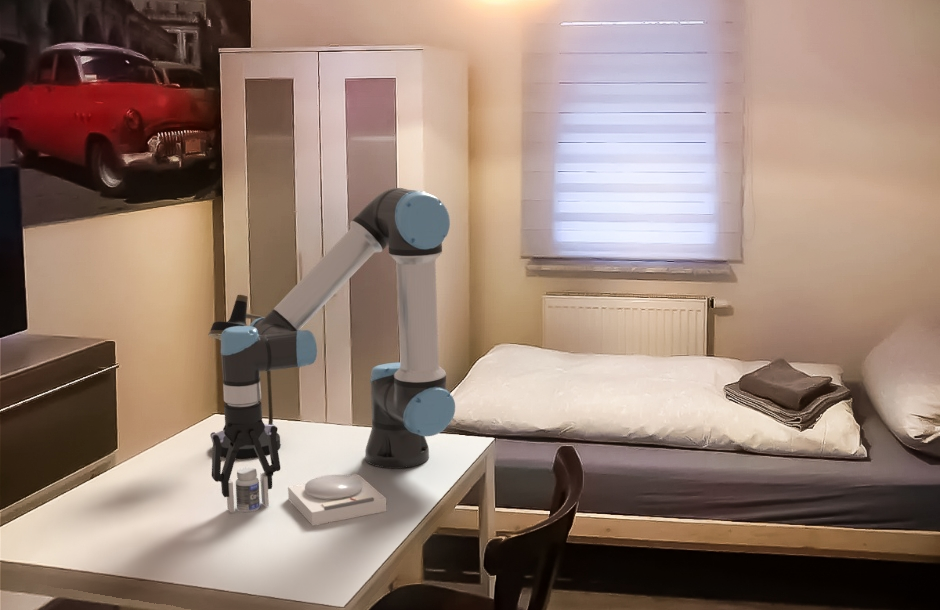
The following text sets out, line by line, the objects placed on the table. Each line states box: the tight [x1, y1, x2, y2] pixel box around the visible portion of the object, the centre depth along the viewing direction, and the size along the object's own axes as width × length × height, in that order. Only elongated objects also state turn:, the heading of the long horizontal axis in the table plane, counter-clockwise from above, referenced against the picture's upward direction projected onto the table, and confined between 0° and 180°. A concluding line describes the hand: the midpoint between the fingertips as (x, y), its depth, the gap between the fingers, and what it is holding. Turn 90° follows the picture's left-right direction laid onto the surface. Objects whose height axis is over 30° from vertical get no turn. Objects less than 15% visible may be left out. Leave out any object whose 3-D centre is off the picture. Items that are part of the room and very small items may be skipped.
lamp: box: [208, 294, 282, 460], centre depth 254 cm, size 16×22×38 cm
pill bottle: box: [235, 467, 261, 513], centre depth 218 cm, size 5×5×8 cm
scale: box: [287, 473, 387, 526], centre depth 220 cm, size 16×16×4 cm
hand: (248, 506), depth 219 cm, fingers open, 7 cm apart
